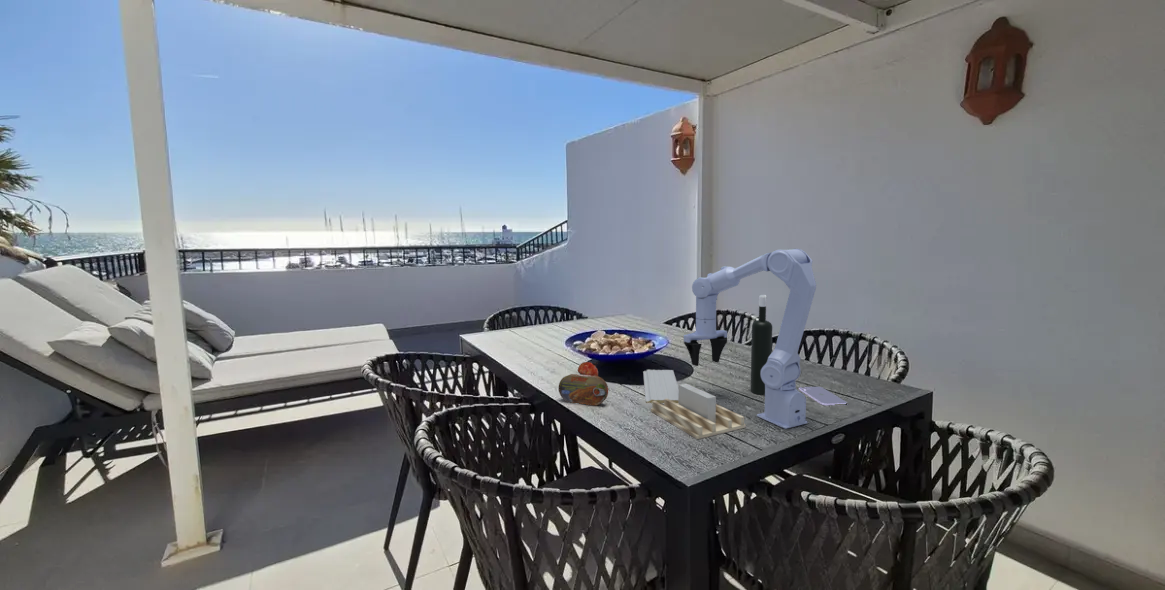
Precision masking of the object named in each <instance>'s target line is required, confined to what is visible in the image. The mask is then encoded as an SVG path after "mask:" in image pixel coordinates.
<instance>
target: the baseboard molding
mask: <svg viewBox="0 0 1165 590" xmlns="http://www.w3.org/2000/svg"><path fill="white" fill-rule="evenodd" d="M653 368H659V365H657V366H656V365H654V367H653ZM643 369H645V366H643V368H641V373H643V384H644V395H645V396H644V397H645V403H647V404H648V403H649V404H652V401H657V402H658V403H660V404H664V399H669V400H671V401H673V402H675V403H679V384H678V381H677V378H676V376H675V372H674V367H671V369H646V370H644V371H643Z"/></svg>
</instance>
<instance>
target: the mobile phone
mask: <svg viewBox="0 0 1165 590" xmlns="http://www.w3.org/2000/svg"><path fill="white" fill-rule="evenodd" d="M798 391H799V392H801V393H802V394H804V395H806V396H808V397H810V398H811V399H812V400H814V401H815V402H817V403H818V404H820V405H823V406H836V405H835V404H846V403H848V402H847V401H846V400H844V399H842V398H841V397H839V396H837V395H836V394H834V393H832V392H831V391H829V390H827V389H825V388H824V387H822V386H800V387H798Z"/></svg>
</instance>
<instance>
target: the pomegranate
mask: <svg viewBox="0 0 1165 590" xmlns="http://www.w3.org/2000/svg"><path fill="white" fill-rule="evenodd" d="M598 364H599V362H597V361H596V362H595V363H592V362H589V361H584V362H582V363H580V364H579V366H578V367H577V372H578V375H590V376H598V377H599V371H598V368H597V365H598Z"/></svg>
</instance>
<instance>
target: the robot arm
mask: <svg viewBox="0 0 1165 590" xmlns="http://www.w3.org/2000/svg"><path fill="white" fill-rule="evenodd" d="M813 261H814V260H813V259H812V258H811V257H810V256H809V254H808V253H807V252H806V251H804V250H803V249H801V248H793V249H776V250H774V251H772V252H766V253H765V254H761V255H760V256H758V257H756V258H754V259H752V260H749V261H748V262H745V263H743V264H741V265H740V266H737V267H733V266H727V265H725V266H724V265H723V266H722V267H721V266H720V270H718V271H715V272H710V273H708V274H707V276H706V277H700V276H699V277H698V278H697V279H695V280H694V281H693V283H692V285H691V289H692V293H693V295H694V296H695V331H694V332H691V333H687V334H684V335H683V343H684V345H685V348H686V349H687V352H688V354H689V357H690V360H691V361H690V362H691V365H692V366H694V367H695V366H696V367H698V366H699V363H700V352H701V348H702V346H703V345H702V343H699V341H706V340H709V341H710V342H709V343H710V345H711V360H712V362H715V363H716V364H717V363H720V359H721V355H722V352H723V350H724V348H725V346H726V345H727V343H728V339H727V338H728V330H724V329H720V330H719V329H718V330H717V301H718V295H719V293H722V292H724V291H727V290H729V289H732V288H734V287H737V286H739V285H740V282H741V279H744V278H747V277H750V276H752V275H755V274H758V273H761V272H764V271H765V272H771V273H772V274H773V275H774V276H775V277H777V278H778V279H779V280H781V281H782V282H784V284H785V286H787V288H788V289H789V295H788V298H787V302H786V306H785V310H784V313H783V315H782V316H783V317H782V320H781V323H780V324H781V325H780V328H779V332H778V335H777V340H776V344H775V346H774V349H773V350H772V353H771V354H770V356H769V357H768V360H767V363H766V364H765V365H764V366H763V367H762V369H761V373H760V374H761V379H762V381H763V382H764V384H765V395H764V411H763V412H762V413H757V414H756V417H757V418H760V419H762V420H765V421H767V422H769V423H770V424H771V423H772V424H773V425H776V426H778V427H780V428H782V429H785V430H786V429H787V430H788V429H790V428H795V427H799V426H801V425H802V426H803V425H806V424H808V421H807V420H806V415H807V413H806V412H807V411H806V410H807V409H806V408H807V399H806V396H805V393H803V392H801V391H800V390H799V389H797V384H796V380H798V379H799V378H800V376H801V372H802V370H801V366H800V362H801V356H800V355H799V353H798V352H799V348H800V346H801V342H802V338H803V335H804V331H805V329H806V324H807V321H808V317H809V314H810V311H811V306H812V303H813V300H814V297H815V292H816V289H817V283H816V278H815V276H814V275H815V274H814V270H813Z"/></svg>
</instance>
